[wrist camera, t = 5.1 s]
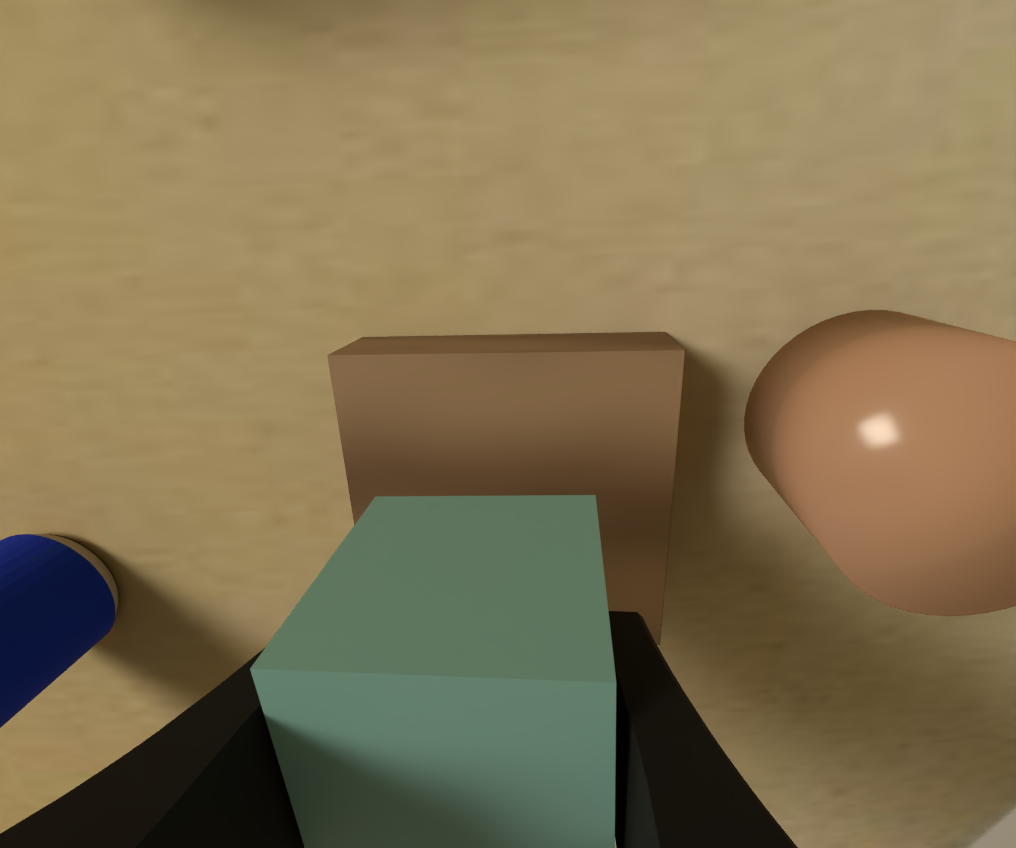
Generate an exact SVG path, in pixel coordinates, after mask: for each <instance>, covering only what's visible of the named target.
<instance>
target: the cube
mask: <svg viewBox="0 0 1016 848" xmlns="http://www.w3.org/2000/svg"><path fill="white" fill-rule="evenodd" d="M250 670H251V674H252V677H253V680H254V684H255V687H256V690H257V693H258V697H259V700H260V703H261V706H262V710H263V713H264V716H265V719H266V723H267V726H268V729H269V732H270V736H271V739H272V742H273V745H274V749H275V752H276V755H277V759H278V762H279V765H280V768H281V772H282V775H283V778H284V781H285V785H286V788H287V791H288V794H289V798H290V801H291V804H292V807H293V811H294V814H295V817H296V821H297V824H298V827H299V830H300V834H301V837H302V840H303V843H304V847H305V848H615V765H616V675H615V666H614V657H613V648H612V639H611V630H610V621H609V612H608V603H607V594H606V585H605V576H604V567H603V558H602V549H601V540H600V530H599V521H598V512H597V503H596V495H525V496H375V498H374V499H373V501H372V502H371V503H370V505H369V506H368V507H367V509H366V510H365V512H364V513H363V514H362V516H361V517H360V518H359V520H358V521H357V523H356V524H355V525H354V527H353V528H352V529H351V531H350V532H349V534H348V535H347V536H346V538H345V539H344V540H343V542H342V543H341V545H340V546H339V547H338V549H337V550H336V551H335V553H334V554H333V556H332V557H331V558H330V560H329V561H328V562H327V564H326V565H325V567H324V568H323V569H322V571H321V572H320V573H319V575H318V576H317V578H316V579H315V580H314V582H313V583H312V584H311V586H310V587H309V589H308V590H307V591H306V593H305V594H304V595H303V597H302V598H301V599H300V601H299V602H298V604H297V605H296V606H295V608H294V609H293V610H292V612H291V613H290V615H289V616H288V617H287V619H286V620H285V621H284V623H283V624H282V626H281V627H280V628H279V630H278V631H277V632H276V634H275V635H274V637H273V638H272V639H271V641H270V642H269V643H268V645H267V646H266V648H265V649H264V650H263V652H262V653H261V654H260V656H259V657H258V659H257V660H256V661H255V663H254V664H253V665H252V667H251V668H250Z"/></svg>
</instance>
